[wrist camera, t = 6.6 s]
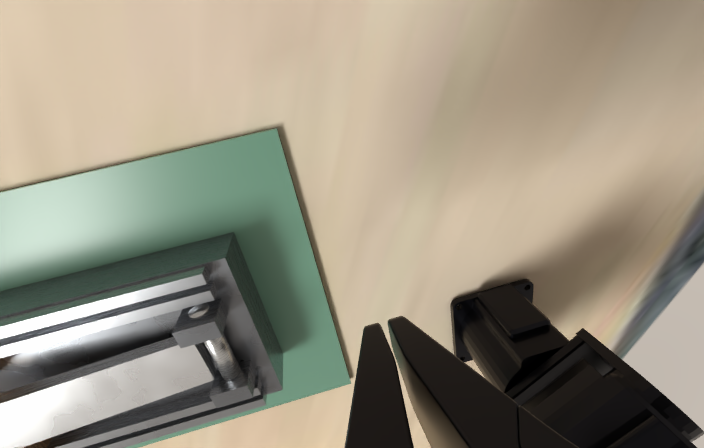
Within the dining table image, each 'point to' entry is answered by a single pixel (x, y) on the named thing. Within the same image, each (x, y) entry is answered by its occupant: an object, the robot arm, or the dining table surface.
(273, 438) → the dining table surface
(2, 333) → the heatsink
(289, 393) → the board
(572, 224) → the dining table surface
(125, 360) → the grey flat long bar
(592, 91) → the dining table surface
